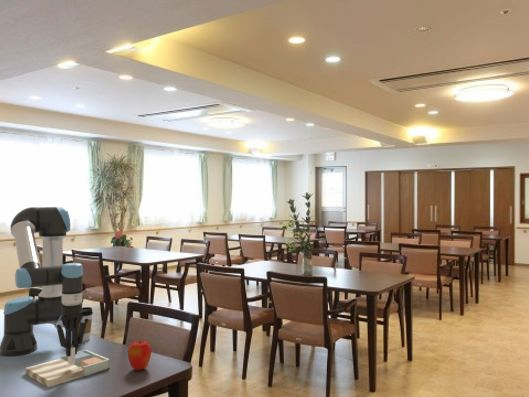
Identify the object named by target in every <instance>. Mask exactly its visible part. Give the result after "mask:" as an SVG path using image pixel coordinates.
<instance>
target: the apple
mask: <svg viewBox="0 0 529 397" xmlns="http://www.w3.org/2000/svg"><path fill="white" fill-rule="evenodd" d="M127 356H128V362H129V364H130V367H131V368H132V369H134V370H135V371H137V370H140V371H143V370H142V369H144V370H145V369H146V368H147V367H148V366H149V363H150V360H151V356H152V348H151V345H150V344H149V343H148V342H147V341H145V340H143V341H141V340H137V341H133V342H132V343H131V344H130V345H129V347H128V349H127Z"/></svg>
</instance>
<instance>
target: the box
mask: <svg viewBox="0 0 529 397" xmlns="http://www.w3.org/2000/svg"><path fill="white" fill-rule="evenodd" d="M80 352H84V353H87V354H89V355H90V358H94V357H96V358H99V359H101V360H103V361H101V362H97V363H94V364H90V365H87V366H84V367H83V369H84V376H83V377H85V376H86V377H87V376H89V375H92V374H95V373H99V372H102V371H105V370H108V368H109V369H110V368H111V359H109V358H108V357H105V356H102V355H100V354H97V353H96V352H93V351H91V350H89V349H82V350H79V351H78V350H77V353H80ZM60 359H63V360H65V361H67V362H68V356H66V354H64V355H61V356H60ZM78 367H80V368H81V365H78Z"/></svg>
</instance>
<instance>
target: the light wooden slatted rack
mask: <svg viewBox="0 0 529 397" xmlns="http://www.w3.org/2000/svg"><path fill="white" fill-rule="evenodd" d="M25 375H27V376H28V377H29V378H31V379H33V380H35V381H37V382H39V383H40V384H41V385H43V386H45V387H47V388H51V387H53V386H56V385H59V384H63V383H67V382H69V381H72V380H76V379H79V378H82V377H85V376H84V369H82V368H80V367H78V366H76V365H74V364H73V365H70V364H68V362H67V361H65V360H63V359H61V358H58V359H54V360H50V361H46V362H42V363H39V364H35V365H31V366H27V367H25ZM50 386H51V387H50Z"/></svg>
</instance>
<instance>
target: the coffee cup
mask: <svg viewBox="0 0 529 397" xmlns="http://www.w3.org/2000/svg"><path fill="white" fill-rule="evenodd" d="M82 315H83V317H84V318H87V319H88V322H87V324H86V327H85V332H84V336H83V340H82V342H87V341H89V340H90V339H91V332H92V321H93V315H94V313H93V308H92V307H90V306H85V307H82ZM80 323H81V321H80ZM80 323H79V326H80ZM78 331H79V328H78Z"/></svg>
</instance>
